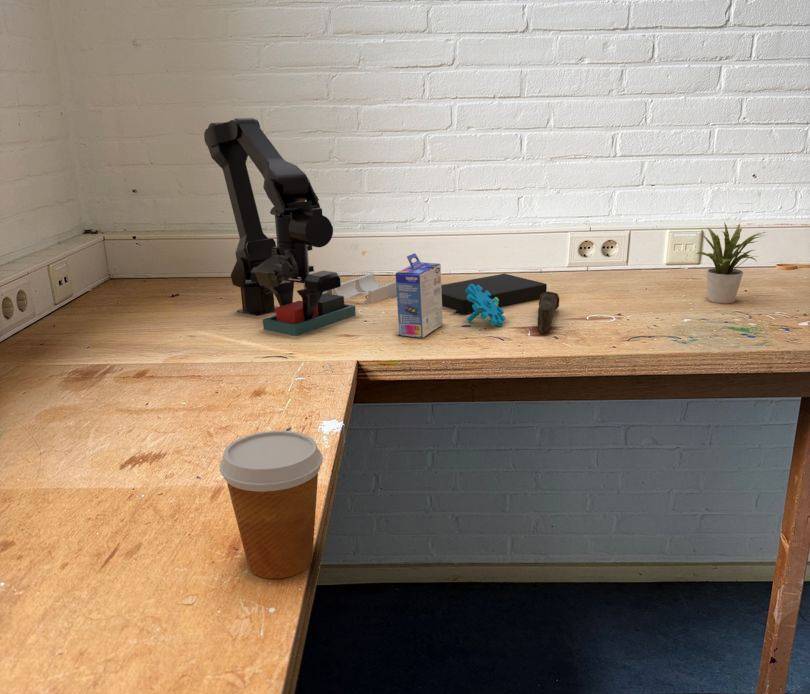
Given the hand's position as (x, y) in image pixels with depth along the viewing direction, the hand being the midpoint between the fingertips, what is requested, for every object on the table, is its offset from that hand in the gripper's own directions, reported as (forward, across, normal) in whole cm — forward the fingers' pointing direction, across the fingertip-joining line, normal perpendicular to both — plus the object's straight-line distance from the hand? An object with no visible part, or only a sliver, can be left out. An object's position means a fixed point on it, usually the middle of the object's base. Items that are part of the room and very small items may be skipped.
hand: (297, 320), depth 155 cm
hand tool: (+2, +39, +30) cm, 49 cm away
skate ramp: (+2, -6, +29) cm, 29 cm away
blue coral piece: (+2, +29, +23) cm, 37 cm away
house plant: (+2, +63, +62) cm, 89 cm away
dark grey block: (+1, 0, +8) cm, 8 cm away
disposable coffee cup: (+2, +56, -61) cm, 83 cm away
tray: (+2, 0, +4) cm, 4 cm away
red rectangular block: (+1, 0, 0) cm, 1 cm away
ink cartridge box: (+2, +21, +12) cm, 24 cm away
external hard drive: (+2, +19, +39) cm, 43 cm away
